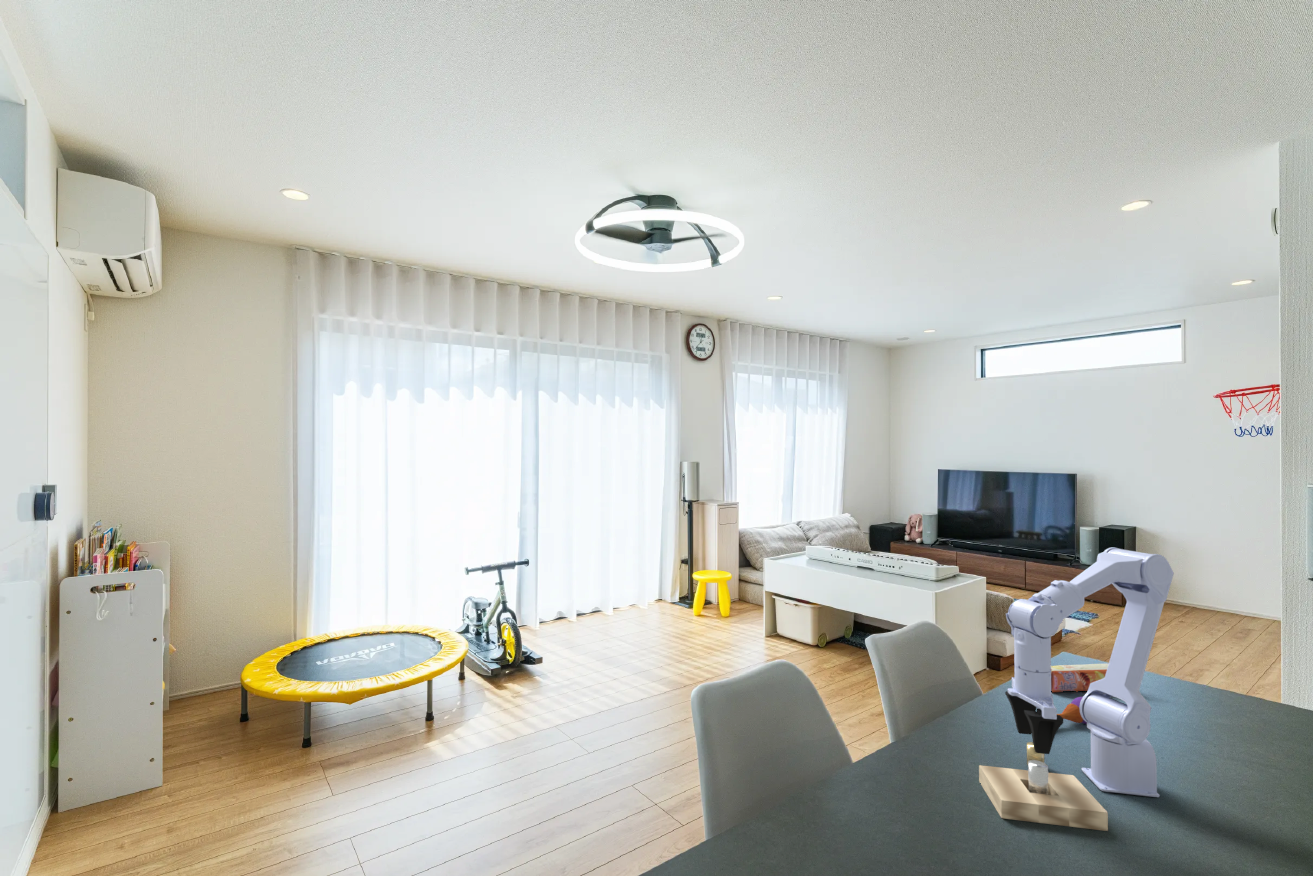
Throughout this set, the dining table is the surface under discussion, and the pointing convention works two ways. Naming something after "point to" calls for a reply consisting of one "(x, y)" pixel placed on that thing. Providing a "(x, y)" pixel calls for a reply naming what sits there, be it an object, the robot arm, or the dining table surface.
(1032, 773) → the long pin
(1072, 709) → the maraca
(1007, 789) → the hole block
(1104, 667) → the snack package
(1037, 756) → the short pin
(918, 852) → the dining table surface
